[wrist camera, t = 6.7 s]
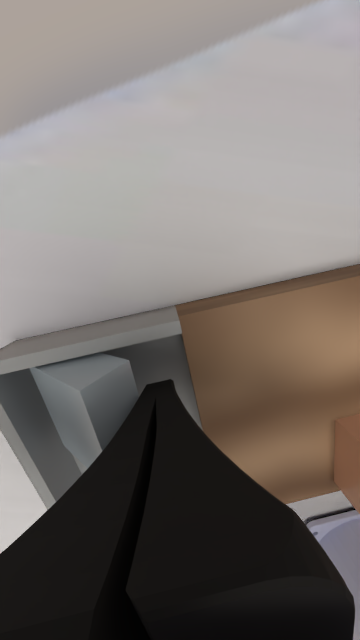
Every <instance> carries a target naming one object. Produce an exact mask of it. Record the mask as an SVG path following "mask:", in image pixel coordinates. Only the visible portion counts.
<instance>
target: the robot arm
mask: <svg viewBox="0 0 360 640" xmlns="http://www.w3.org/2000/svg"><path fill="white" fill-rule="evenodd" d="M0 640H360V514H359V513H358V512H357V510H353V511H349V512H345V513H341V514H337V515H333V516H329V517H325V518H321V519H317V520H313V521H310V522H309V523H308V524H307V526H306V525H305V524H304V522H303V521H302V520H301V519H300V517H299V516H298V515H297V514H296V512H295V511H293V510H292V509H291V508H290V507H288V506H287V505H285V504H284V503H283V502H281V501H280V500H279V499H277V498H276V497H275V496H273V495H272V494H271V493H270V492H268V491H267V490H266V489H264V488H263V487H262V486H261V485H259V484H258V483H257V482H256V481H255V480H253V479H252V478H251V477H250V476H249V475H247V474H246V473H245V472H244V471H243V470H241V469H240V468H239V467H238V466H237V465H236V464H235V463H234V462H233V461H232V460H231V459H230V458H229V457H227V456H226V455H225V454H224V453H223V452H222V451H221V450H220V449H219V448H218V447H217V446H216V445H215V444H214V443H213V442H212V441H211V440H210V439H209V437H208V436H207V435H206V434H205V433H204V432H203V431H202V429H201V428H200V427H199V426H198V424H197V423H196V422H195V421H194V419H193V418H192V417H191V415H190V414H189V412H188V411H187V409H186V408H185V406H184V405H183V403H182V401H181V400H180V398H179V396H178V394H177V392H176V389H175V385H174V381H173V380H171V379H168V380H164V381H160V382H155V383H151V384H147V385H146V386H145V388H144V390H143V391H142V393H141V395H140V397H139V398H138V400H137V402H136V403H135V405H134V407H133V408H132V410H131V411H130V413H129V415H128V416H127V418H126V419H125V421H124V422H123V424H122V425H121V427H120V428H119V430H118V431H117V432H116V434H115V435H114V437H113V438H112V439H111V441H110V442H109V443H108V445H107V446H106V447H105V449H104V450H103V451H102V452H101V453H100V455H99V456H98V457H97V458H96V459H95V461H94V462H93V463H92V464H91V465H90V466H89V468H88V469H87V470H86V471H85V472H84V473H83V474H82V475H81V476H80V477H79V478H78V479H77V481H76V482H75V483H74V484H73V485H72V486H71V487H70V488H69V489H68V490H67V491H66V492H65V493H64V495H63V496H62V497H61V498H60V499H59V500H58V501H57V502H56V503H55V504H54V505H52V506H51V507H50V508H49V509H48V510H47V511H46V512H45V513H44V514H43V515H42V516H41V517H40V518H39V519H38V520H37V521H36V522H35V523H34V524H33V525H32V526H31V527H30V528H28V529H27V530H26V531H25V532H24V533H23V534H22V535H21V536H20V537H19V538H18V539H17V540H15V541H14V542H13V543H12V544H11V545H10V546H9V547H8V548H7V549H5V550H4V551H3V552H2V553H1V554H0Z"/></svg>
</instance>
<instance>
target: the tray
mask: <svg viewBox="0 0 360 640" xmlns="http://www.w3.org/2000/svg"><path fill="white" fill-rule="evenodd" d="M181 334H182V330H181V326H180V321H179V318H178V314H177V311H176V307H175V305H174V306H170V307H165V308H161V309H156V310H152V311H147V312H143V313H138V314H134V315H129V316H125V317H120V318H116V319H111V320H107V321H102V322H98V323H93V324H89V325H84V326H80V327H75V328H71V329H66V330H62V331H58V332H53V333H49V334H44V335H40V336H35V337H31V338H26V339H22V340H17V341H14V342H12V343H10V344H9V345H7V346H5V347H3V348H1V349H0V430H1V432H2V433H3V435H4V437H5V438H6V440H7V442H8V443H9V445H10V447H11V448H12V450H13V452H14V454H15V455H16V457H17V459H18V460H19V462H20V464H21V465H22V467H23V469H24V471H25V472H26V474H27V476H28V477H29V479H30V481H31V482H32V484H33V486H34V487H35V489H36V491H37V493H38V494H39V496H40V498H41V499H42V501H43V503H44V504H45V506H46V508H47V510H48V509H49V508H50V507H51V506H52V505H54V504H55V503H56V502H57V501H58V500H59V499H60V498H61V497H62V496H63V495H64V493H65V492H66V491H67V490H68V489H69V488H70V487H71V486H72V485H73V484H74V483H75V482H76V481H77V479H78V478H79V477H80V476H81V475H82V474H83V473H84V472H85V471H86V470H87V469H88V468H87V467H86V466H85V465H83V464H82V463H81V462H80V461H79V460H78V459H77V458H76V457H75V456H74V455H73V454H72V453H71V452H70V451H69V450H68V449H67V448H66V447H65V446H64V445H63V443H62V440H61V438H60V436H59V434H58V431H57V429H56V427H55V425H54V422H53V420H52V418H51V416H50V413H49V411H48V409H47V407H46V404H45V402H44V400H43V398H42V395H41V393H40V391H39V389H38V386H37V384H36V382H35V380H34V377H33V375H32V373H31V371H30V369H29V368H32V367H36V366H41V365H45V364H49V363H54V362H58V361H63V360H67V359H72V358H76V357H80V356H85V355H89V354H94V353H98V352H99V353H103V354H107V355H111V356H115V357H119V358H122V359H126V360H129V362H130V365H131V369H132V373H133V376H134V380H135V383H136V387H137V390H138V394H139V397H140V395H141V393H142V391H143V390H144V388H145V386H146V385H147V384H151V383H155V382H160V381H164V380H168V379H171V380H173V381H174V385H175V389H176V392H177V394H178V396H179V398H180V400H181V401H182V403H183V405H184V406H185V408H186V409H187V411H188V412H189V414H190V415H191V417H192V418H193V419H194V421H195V422H196V423H197V424H198V426H199V427H200V428H201V429H202V426H201V421H200V417H199V412H198V407H197V403H196V398H195V394H194V389H193V385H192V380H191V376H190V371H189V367H188V362H187V357H186V353H185V348H184V344H183V339H182V335H181ZM202 431H203V430H202Z"/></svg>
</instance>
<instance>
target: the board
mask: <svg viewBox="0 0 360 640" xmlns="http://www.w3.org/2000/svg"><path fill="white" fill-rule="evenodd" d="M175 307H176V311H177V314H178V318H179V321H180V326H181V330H182V334H181V335H182V339H183V344H184V348H185V353H186V357H187V362H188V367H189V371H190V376H191V380H192V385H193V389H194V394H195V398H196V403H197V407H198V412H199V417H200V421H201V426H202V430H203V432H204V433H205V434H206V435H207V436H208V437H209V439H210V440H211V441H212V442H213V443H214V444H215V445H216V446H217V447H218V448H219V449H220V450H221V451H222V452H223V453H224V454H225V455H226V456H227V457H229V458H230V459H231V460H232V461H233V462H234V463H235V464H236V465H237V466H238V467H239V468H240V469H241V470H243V471H244V472H245V473H246V474H247V475H249V476H250V477H251V478H252V479H253V480H255V481H256V482H257V483H258V484H259V485H261V486H262V487H263V488H264V489H266V490H267V491H268V492H270V493H271V494H272V495H273V496H275V497H276V498H277V499H279V500H280V501H281V502H283V503H284V504H288V503H292V502H296V501H300V500H304V499H308V498H312V497H316V496H320V495H324V494H328V493H332V492H336V491H340V489H339V487H338V486H337V485H336V483H335V482H334V456H335V420H336V419H340V418H344V417H348V416H352V415H356V414H360V264H358V265H353V266H349V267H344V268H340V269H335V270H331V271H326V272H322V273H317V274H313V275H308V276H304V277H300V278H295V279H291V280H286V281H282V282H277V283H273V284H268V285H264V286H259V287H255V288H250V289H246V290H241V291H237V292H232V293H228V294H223V295H219V296H214V297H210V298H205V299H201V300H196V301H192V302H187V303H183V304H179V305H175Z"/></svg>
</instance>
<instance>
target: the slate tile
mask: <svg viewBox="0 0 360 640" xmlns="http://www.w3.org/2000/svg"><path fill="white" fill-rule="evenodd" d="M29 369H30V371H31V373H32V375H33V377H34V380H35V382H36V384H37V386H38V389H39V391H40V393H41V395H42V398H43V400H44V402H45V404H46V407H47V409H48V411H49V413H50V416H51V418H52V420H53V422H54V425H55V427H56V429H57V431H58V434H59V436H60V438H61V440H62V443H63V445H64V446H65V447H66V448H67V449H68V450H69V451H70V452H71V453H72V454H73V455H74V456H75V457H76V458H77V459H78V460H79V461H80V462H81V463H82V464H83V465H85V466H86V467H87V468H89V466H90V465H91V464H92V463H93V462H94V461H95V459H96V458H97V457H98V456H99V455H100V453H101V452H102V451H103V450H104V449H105V447H106V446H107V445H108V443H109V442H110V441H111V439H112V438H113V437H114V435H115V434H116V432H117V431H118V430H119V428H120V427H121V425H122V424H123V422H124V421H125V419H126V418H127V416H128V415H129V413H130V411H131V410H132V408H133V407H134V405H135V403H136V402H137V400H138V398H139V394H138V390H137V387H136V383H135V380H134V376H133V373H132V369H131V365H130V362H129V360H126V359H122V358H119V357H115V356H111V355H107V354H103V353H99V352H98V353H94V354H89V355H85V356H80V357H76V358H72V359H67V360H63V361H58V362H54V363H49V364H45V365H41V366H36V367H32V368H29Z"/></svg>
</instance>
